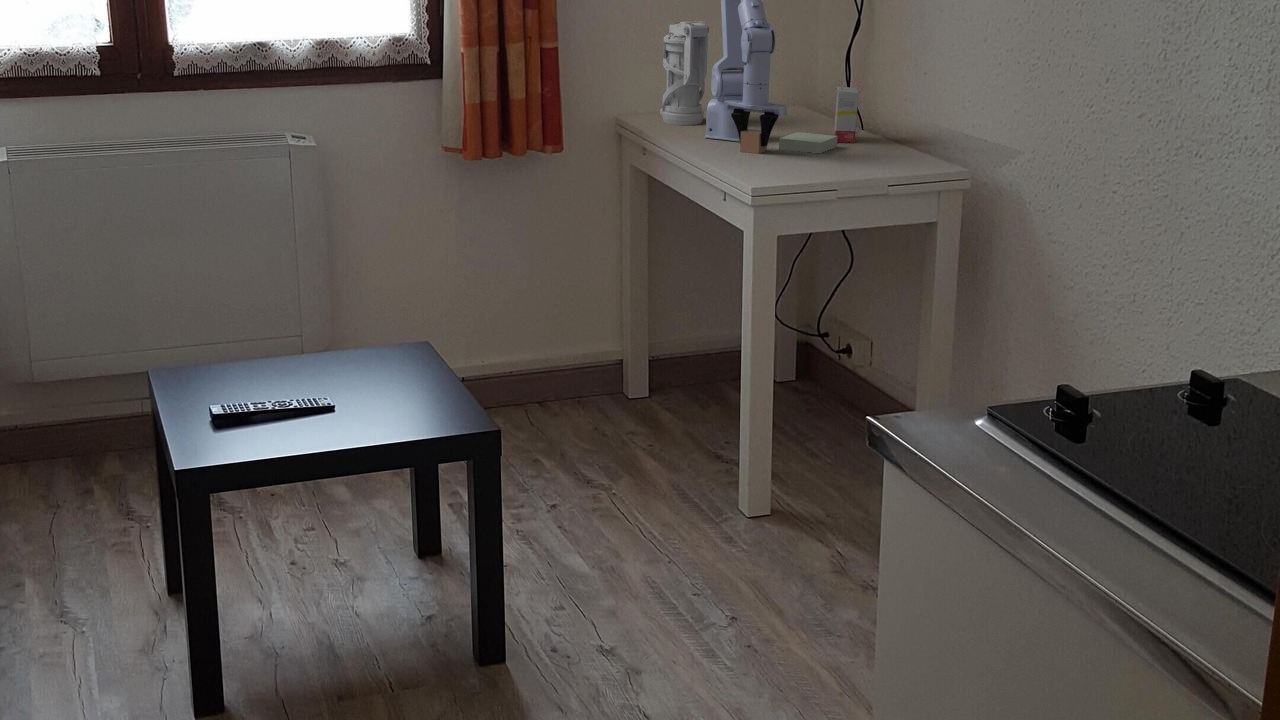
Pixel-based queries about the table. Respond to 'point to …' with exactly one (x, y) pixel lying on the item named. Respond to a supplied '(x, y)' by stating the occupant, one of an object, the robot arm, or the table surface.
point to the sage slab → (807, 142)
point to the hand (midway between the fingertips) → (753, 144)
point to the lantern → (685, 72)
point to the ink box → (846, 114)
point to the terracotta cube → (751, 141)
